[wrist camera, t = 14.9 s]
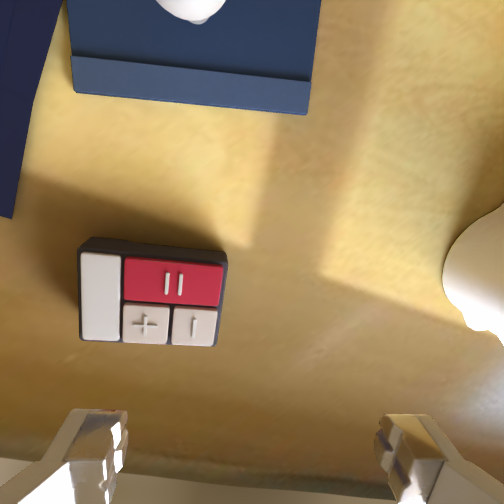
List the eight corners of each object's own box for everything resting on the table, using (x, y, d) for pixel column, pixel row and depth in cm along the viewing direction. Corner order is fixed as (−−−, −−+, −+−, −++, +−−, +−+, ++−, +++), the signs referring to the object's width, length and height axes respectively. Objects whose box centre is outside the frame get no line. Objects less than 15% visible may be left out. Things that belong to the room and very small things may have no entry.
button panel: (216, 351, 35) (76, 345, 32) (215, 330, 39) (90, 323, 36) (229, 264, 32) (72, 249, 29) (226, 250, 36) (89, 235, 33)
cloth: (329, -76, 26) (332, -82, 25) (305, 115, 31) (307, 114, 30) (56, -123, 24) (51, -130, 23) (77, 92, 29) (73, 91, 28)
